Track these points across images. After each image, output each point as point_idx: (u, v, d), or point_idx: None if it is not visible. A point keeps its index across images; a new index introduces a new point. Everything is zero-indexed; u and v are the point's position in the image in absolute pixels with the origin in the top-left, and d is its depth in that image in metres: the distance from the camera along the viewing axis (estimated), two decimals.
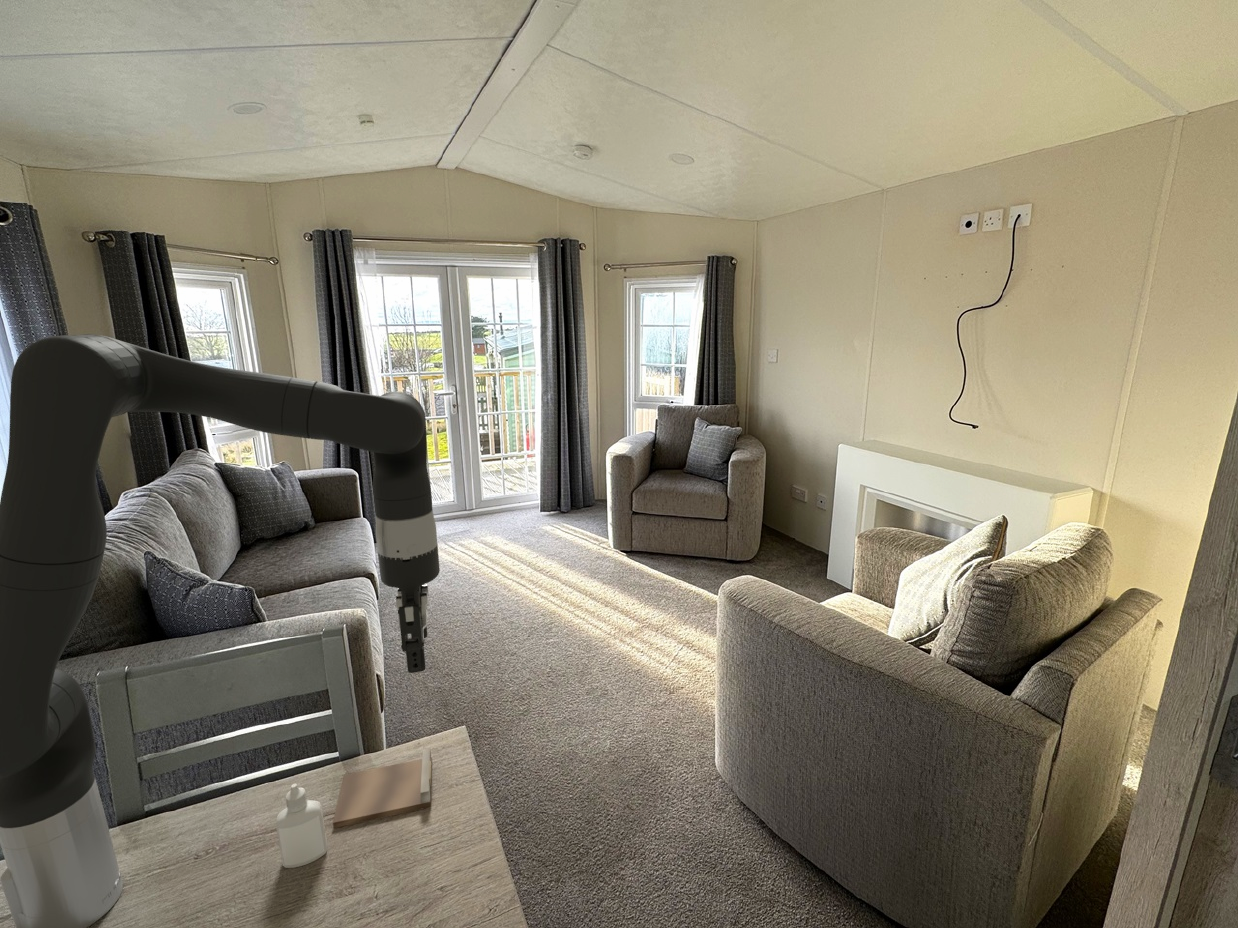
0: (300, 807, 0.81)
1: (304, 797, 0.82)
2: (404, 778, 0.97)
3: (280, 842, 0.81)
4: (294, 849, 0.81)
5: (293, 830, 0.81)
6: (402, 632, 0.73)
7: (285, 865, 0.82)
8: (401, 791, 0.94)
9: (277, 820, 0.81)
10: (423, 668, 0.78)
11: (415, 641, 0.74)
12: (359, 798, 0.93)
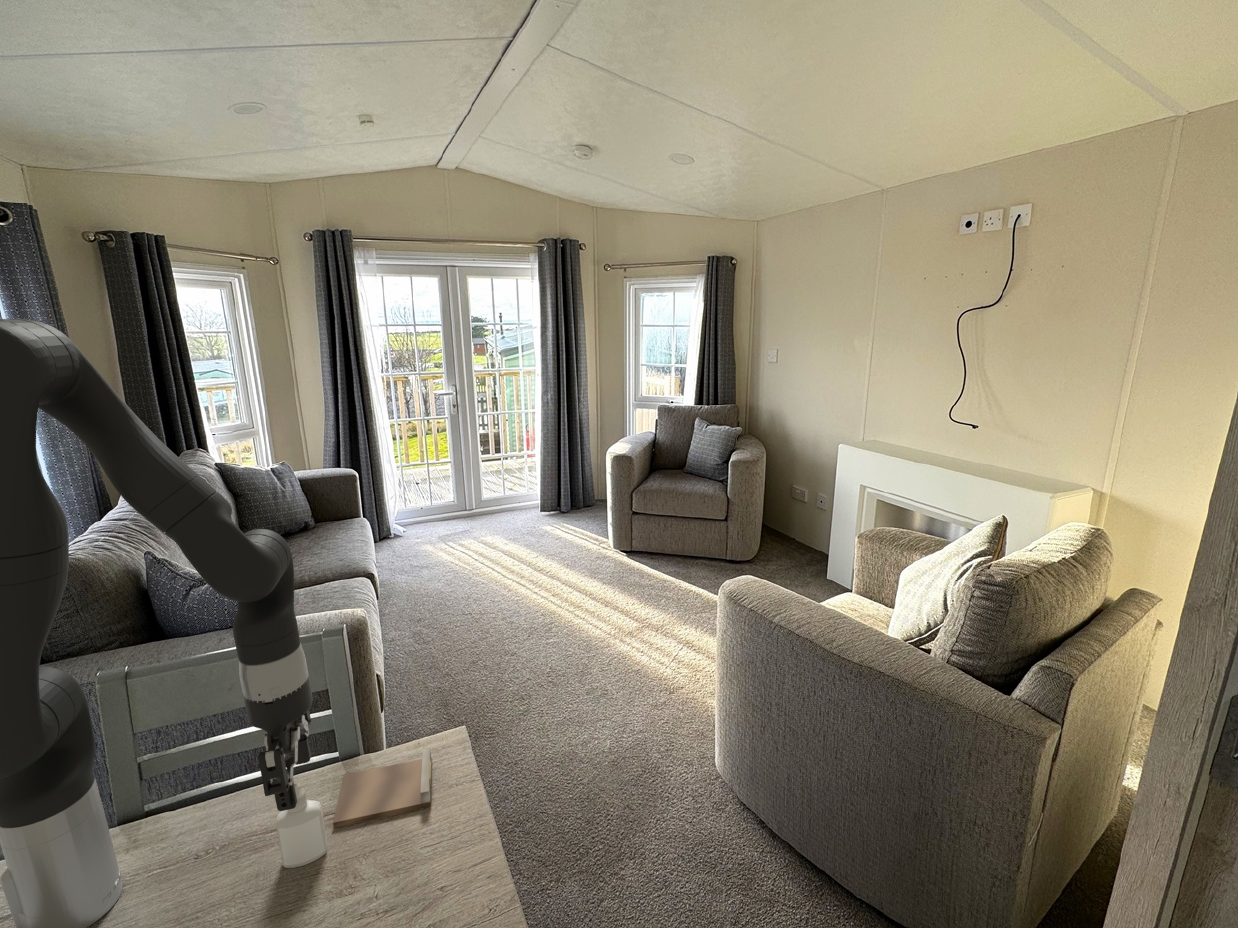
0: (300, 807, 0.81)
1: (304, 797, 0.82)
2: (404, 778, 0.97)
3: (280, 842, 0.81)
4: (294, 849, 0.81)
5: (293, 830, 0.81)
6: (263, 778, 0.73)
7: (285, 865, 0.82)
8: (401, 791, 0.94)
9: (277, 820, 0.81)
10: (294, 805, 0.77)
11: (279, 784, 0.74)
12: (359, 798, 0.93)
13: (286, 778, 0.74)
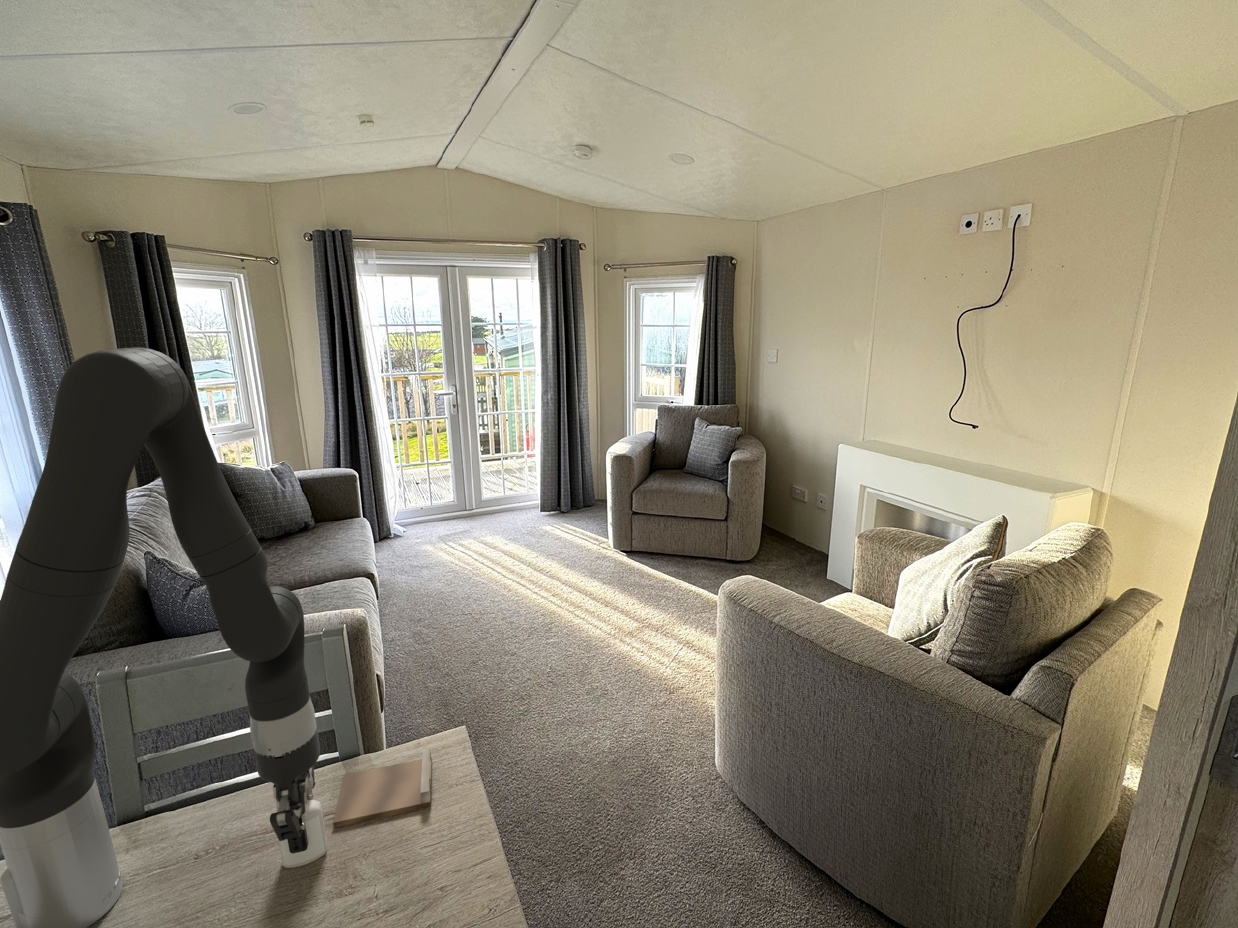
0: None
1: None
2: (404, 778, 0.97)
3: (280, 842, 0.81)
4: None
5: None
6: (277, 832, 0.76)
7: (285, 865, 0.82)
8: (401, 791, 0.94)
9: None
10: (305, 848, 0.81)
11: None
12: (359, 798, 0.93)
13: (298, 826, 0.78)
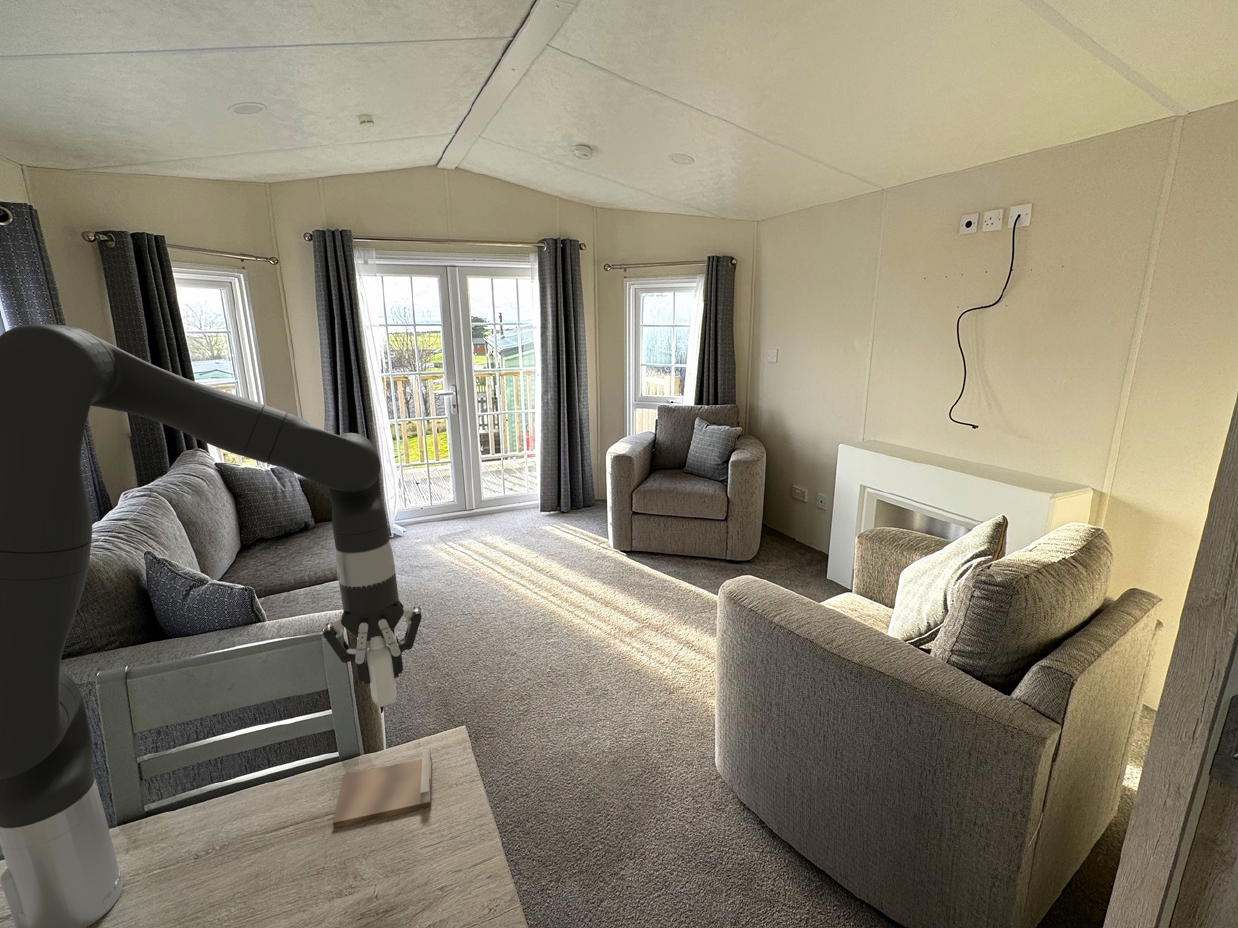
0: (370, 646, 0.86)
1: (373, 641, 0.86)
2: (404, 778, 0.97)
3: None
4: None
5: None
6: None
7: None
8: (401, 791, 0.94)
9: None
10: None
11: None
12: (359, 798, 0.93)
13: (342, 653, 0.85)
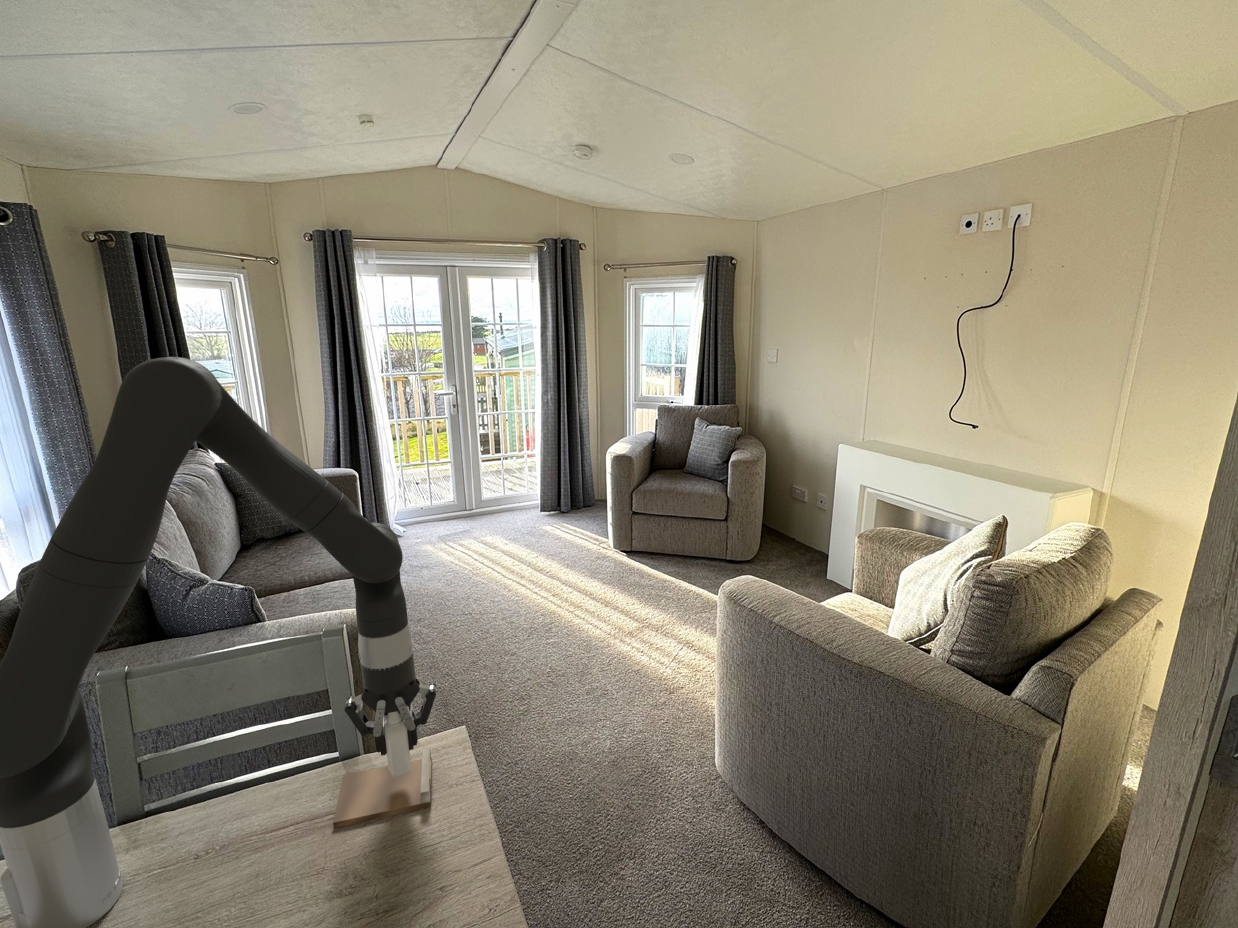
0: (387, 720, 0.92)
1: (391, 716, 0.91)
2: (404, 778, 0.97)
3: None
4: None
5: None
6: None
7: None
8: (401, 791, 0.94)
9: None
10: (381, 753, 0.92)
11: None
12: (359, 798, 0.93)
13: (361, 726, 0.90)
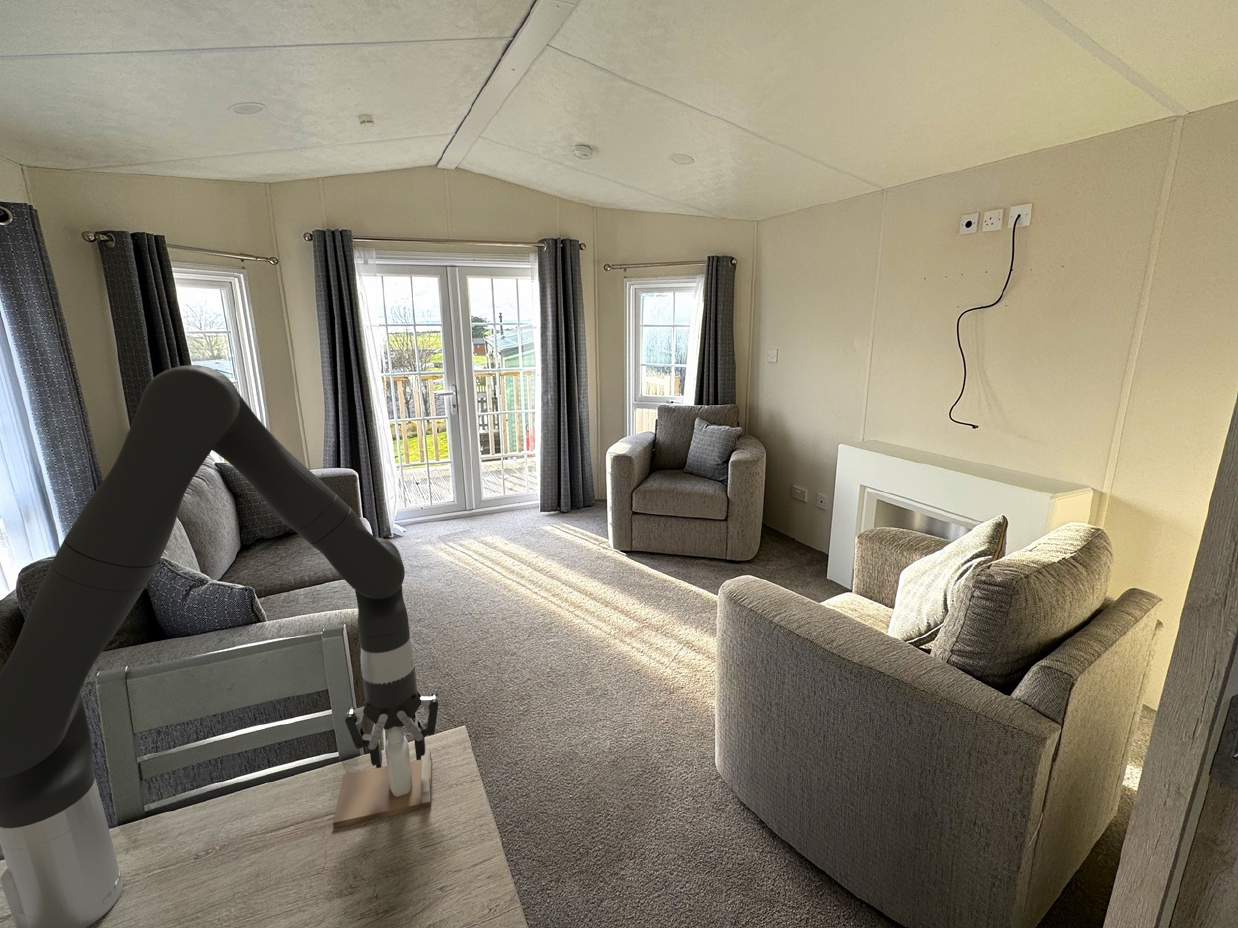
0: (388, 740, 0.92)
1: (392, 736, 0.92)
2: None
3: None
4: None
5: None
6: None
7: None
8: None
9: None
10: (376, 766, 0.93)
11: None
12: (359, 798, 0.93)
13: (358, 739, 0.90)
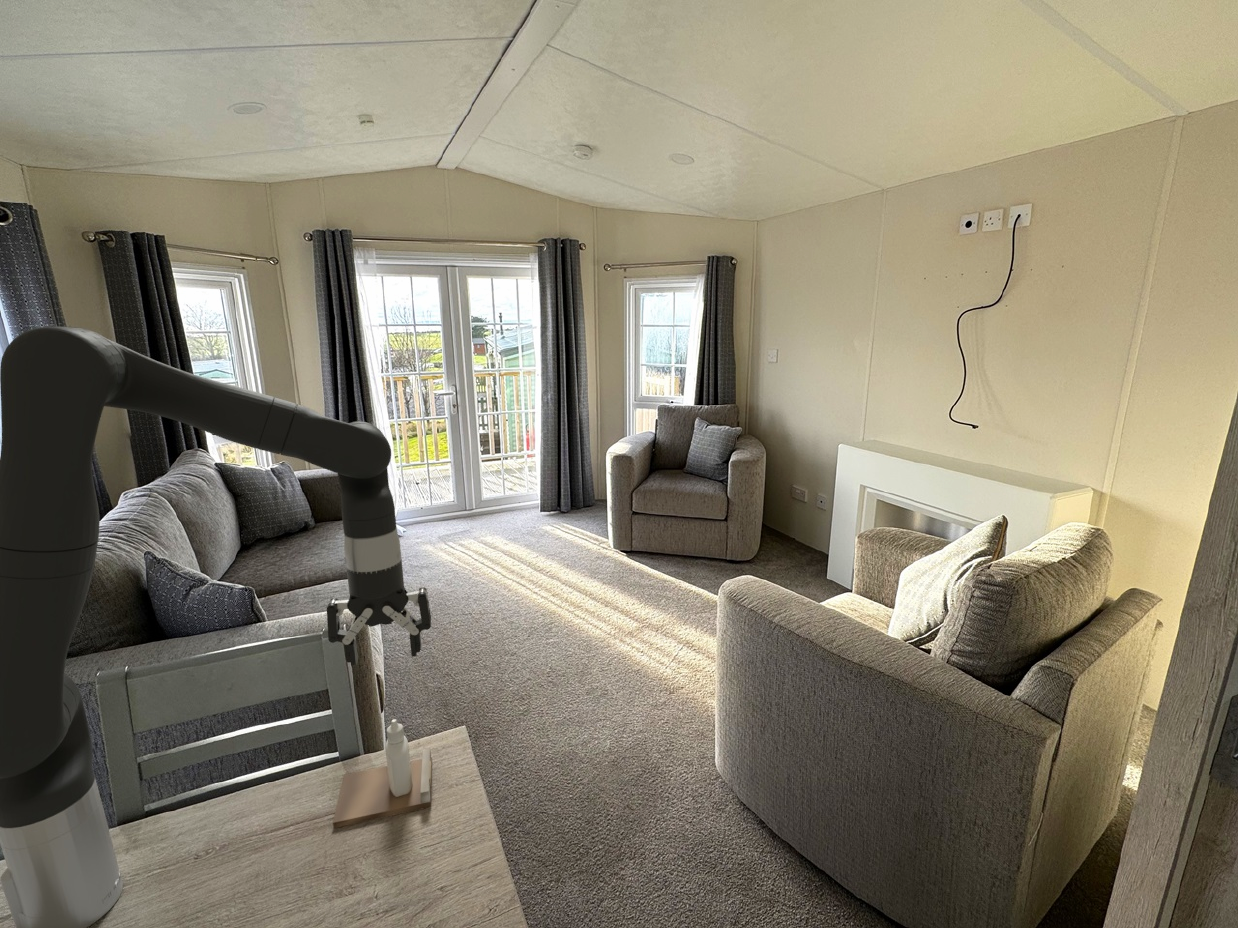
0: (388, 740, 0.92)
1: (392, 736, 0.92)
2: None
3: None
4: None
5: None
6: None
7: None
8: None
9: None
10: (351, 663, 0.88)
11: None
12: (359, 798, 0.93)
13: (333, 632, 0.86)
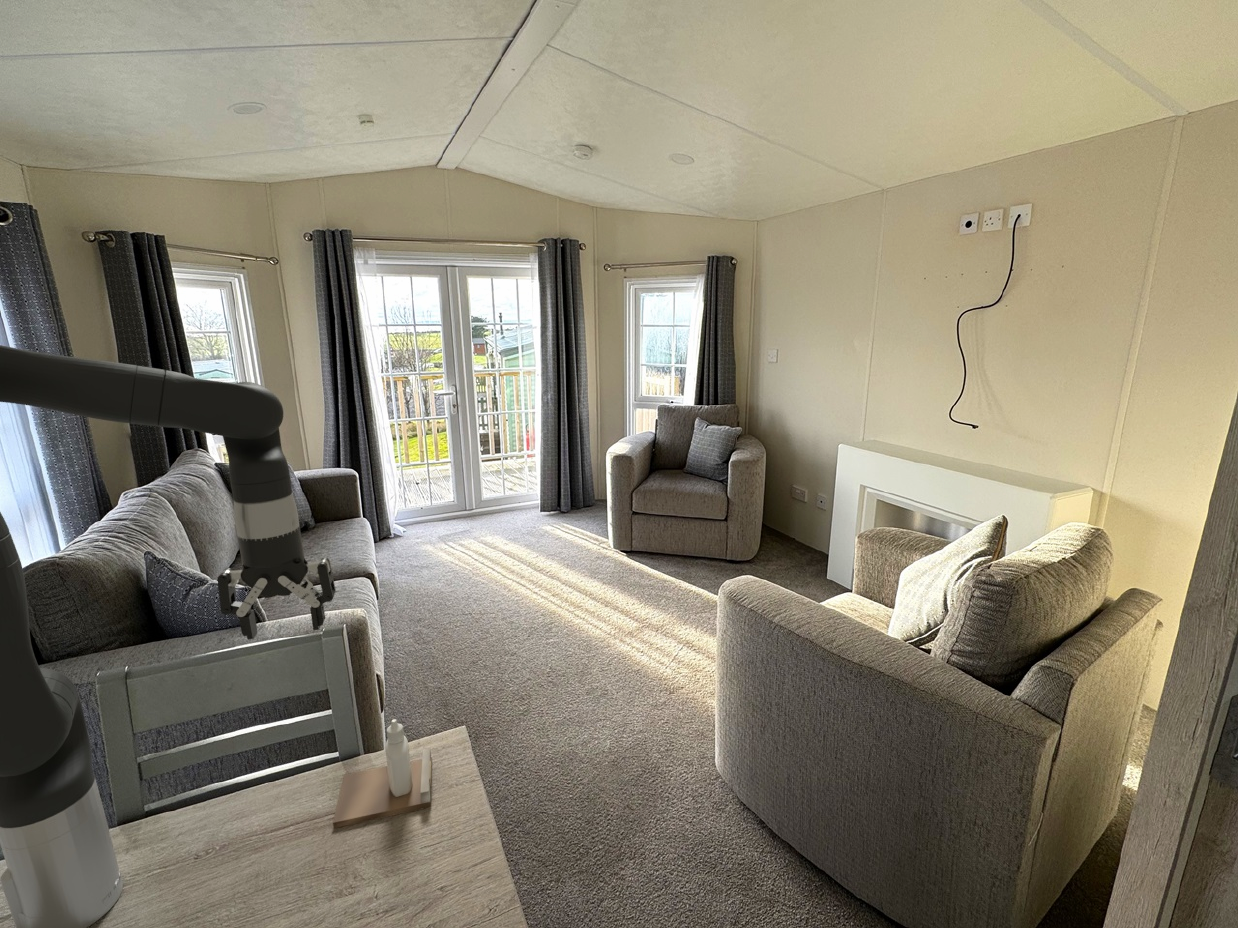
0: (388, 740, 0.92)
1: (392, 736, 0.92)
2: None
3: None
4: None
5: None
6: None
7: None
8: None
9: None
10: None
11: None
12: (359, 798, 0.93)
13: (226, 603, 0.82)
